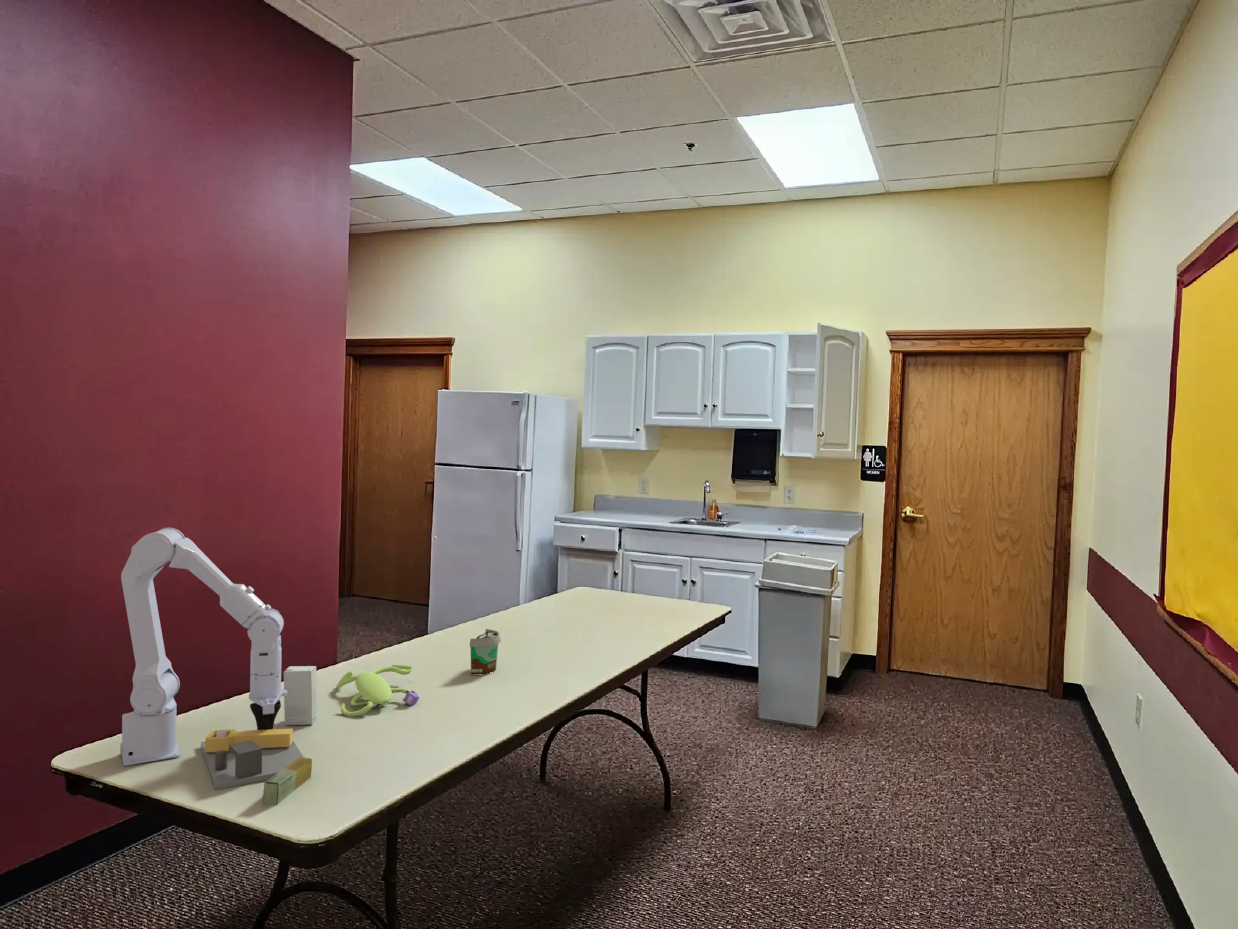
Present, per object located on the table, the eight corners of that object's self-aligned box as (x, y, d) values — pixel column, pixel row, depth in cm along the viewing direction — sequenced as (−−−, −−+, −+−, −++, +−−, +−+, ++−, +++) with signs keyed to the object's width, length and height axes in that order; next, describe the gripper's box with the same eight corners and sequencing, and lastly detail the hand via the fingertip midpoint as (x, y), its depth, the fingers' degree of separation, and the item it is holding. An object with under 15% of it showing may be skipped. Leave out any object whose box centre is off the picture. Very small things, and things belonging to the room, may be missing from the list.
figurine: (409, 679, 213) (409, 658, 213) (425, 712, 189) (425, 688, 189) (335, 686, 206) (335, 664, 206) (341, 720, 182) (341, 695, 182)
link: (204, 752, 158) (204, 739, 158) (211, 743, 162) (212, 730, 162) (288, 748, 161) (288, 735, 161) (293, 739, 165) (293, 727, 165)
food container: (490, 678, 215) (491, 640, 215) (468, 676, 216) (469, 639, 216) (506, 665, 227) (507, 630, 227) (485, 664, 228) (486, 628, 228)
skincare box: (317, 718, 182) (318, 665, 181) (312, 726, 177) (312, 670, 177) (289, 719, 181) (289, 665, 181) (282, 726, 177) (283, 671, 176)
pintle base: (215, 790, 145) (215, 759, 145) (201, 747, 164) (201, 719, 164) (309, 771, 153) (309, 742, 153) (285, 733, 173) (285, 706, 173)
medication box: (276, 807, 139) (277, 784, 139) (261, 805, 140) (262, 782, 140) (312, 778, 151) (312, 757, 151) (298, 777, 152) (299, 755, 151)
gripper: (291, 679, 159) (290, 748, 160) (283, 660, 172) (282, 723, 173) (251, 683, 156) (250, 753, 157) (246, 663, 169) (246, 728, 169)
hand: (265, 738), depth 164 cm, fingers closed, pressing on link
